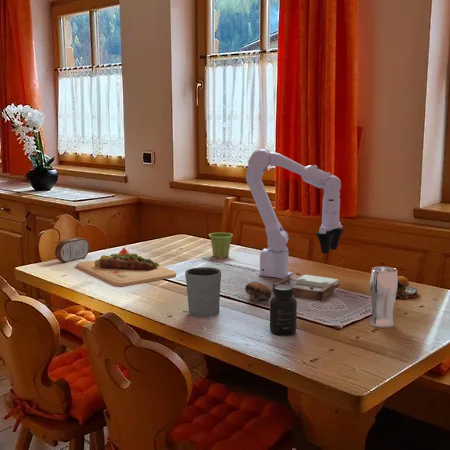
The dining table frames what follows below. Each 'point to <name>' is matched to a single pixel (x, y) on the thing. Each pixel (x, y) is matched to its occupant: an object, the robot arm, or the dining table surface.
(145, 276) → the cutting board
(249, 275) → the dining table surface
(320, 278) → the door
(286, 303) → the supplement bottle
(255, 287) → the mushroom
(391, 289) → the beer glass
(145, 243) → the dining table surface
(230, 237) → the plant pot
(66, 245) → the tin
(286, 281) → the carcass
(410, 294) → the salad plate
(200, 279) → the grey tapered cup
